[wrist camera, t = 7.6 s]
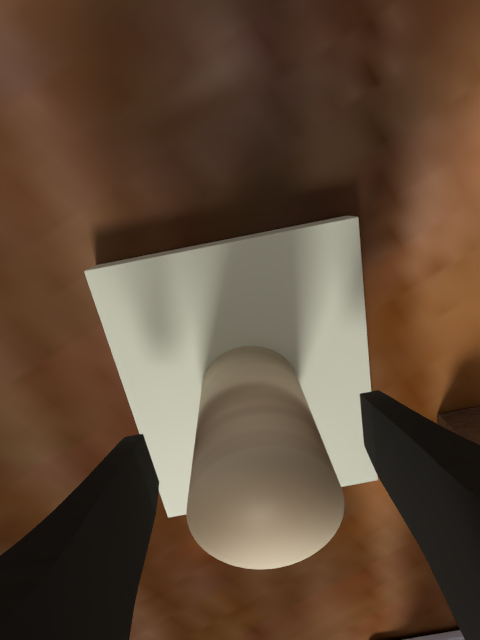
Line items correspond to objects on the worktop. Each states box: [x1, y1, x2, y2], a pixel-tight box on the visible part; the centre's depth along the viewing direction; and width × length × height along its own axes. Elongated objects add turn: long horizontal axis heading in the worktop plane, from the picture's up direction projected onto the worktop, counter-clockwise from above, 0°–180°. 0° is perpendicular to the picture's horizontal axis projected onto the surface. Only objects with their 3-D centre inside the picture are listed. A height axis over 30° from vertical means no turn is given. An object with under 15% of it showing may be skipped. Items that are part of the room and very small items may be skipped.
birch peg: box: [186, 346, 344, 569], centre depth 12 cm, size 4×4×6 cm
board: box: [84, 216, 378, 517], centre depth 15 cm, size 12×10×1 cm
